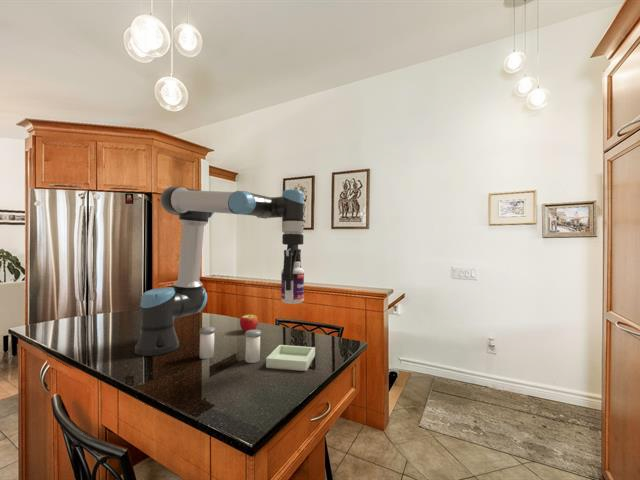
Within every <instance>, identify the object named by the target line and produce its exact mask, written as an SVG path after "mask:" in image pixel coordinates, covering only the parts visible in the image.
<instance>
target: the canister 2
mask: <svg viewBox="0 0 640 480" xmlns="http://www.w3.org/2000/svg"><path fill="white" fill-rule="evenodd" d="M261 335H262V330H260V329H255V330H248V331H246V332H245V357H244V359H245V361H244V362H246V363H249V364H254V363H258V362H260V360H261V358H260V357H261V356H260V355H261Z"/></svg>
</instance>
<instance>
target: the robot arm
mask: <svg viewBox="0 0 640 480" xmlns="http://www.w3.org/2000/svg"><path fill="white" fill-rule="evenodd" d="M304 199H305V198H304V192H303V191H302V190H300V189H292V188H291V189H285V190H283V191H282V194H281V196H273V197H272V196H266V195H260V194H256V193H253V192H249V191H246V190H235V191H219V190H218V191H215V190H213V191H212V190H199V189H194V188H190V187H189V188H188V187H184V186H178V185H173V186H168V187H167V188H165V189H164V190H163V191H162V193H161V194H160V200H159V201H160V205H161V206H162V208H163V210H164V211H166V212H167V213H168V214H171V215H174V216H178V221H179V222H180V223H181V224H182V227H181V239H180V249H179V250H180V251H179V262H178V263H179V265H178V273H177V274H178V275H177V280H176V281H175V282H174V283H173V287H170V286H169V287H168V286H166V287H165V286H164V287H156V288H152V289H150V290H147V291H145V292H143V294H142V295H141V299H140V305H139V306H140V332H139V335H138V338H137V340H136V344H135V347H134V353H135V354H136V355H138V356H144V357H148V356H149V357H150V356H159V355H164V354H167V353H168V354H169V353H171V352H174V351H175V350H177V349H178V348H179V345H180V344H179V342H180V341H179V338H178V335H177V333H176V330H175V319H178V318H181V317H185V316H191V315H194V314H197V313H199V312H201V311H202V310H203V309H204V308H205V306H206V305H207V302H208V293H207V290H206V289H205V288H204V286H203V285H204V284H203V282H202V281H200V277H201V276H200V275H201V268H202V267H201V265H202V256H203V255H202V251H203V242H204V241H203V240H204V230H205V226H206V225H207V224H208V223H209V219H210V218H212V217H213V215H214V214H219V213H220V214H229V215H232V214H233V215H240V216H241V215H243V216H252V217H253V216H254V217H256V218H258V219H265V220H267V219H274V218H275V219H276V218H281V219H282V220H281V221H282V225H281V227H282V228H281V229H282V230H281V231H282V233H283V234H282V245H284V246H285V245H287V246H286V247H287V248H286V249H283V269H282V270H283V278H282V280H283V281H285V300H293V281H292V277H293V269H294V262H300V268H302V260H301V259H302V257H301V254H302V253H301V252H302V250H301V249H300V248H299V245H303V244H304V235H303V233H304V228H305V227H306V224H305V223H304V211H305V210H304V207H305V202H304Z"/></svg>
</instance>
